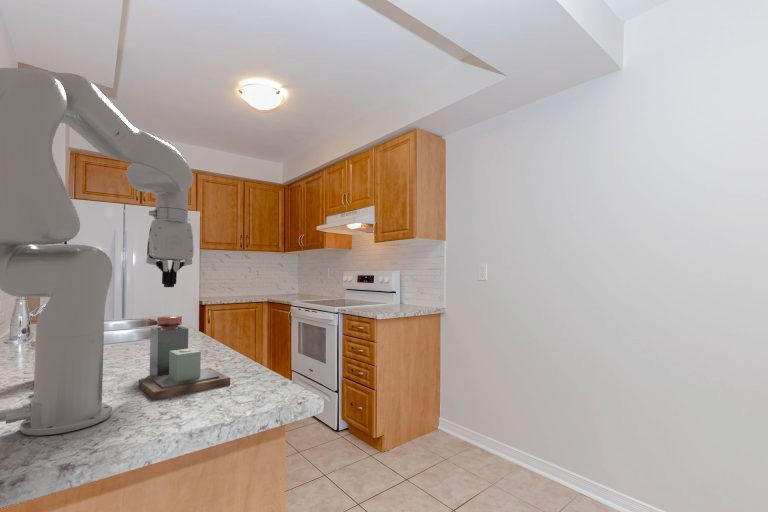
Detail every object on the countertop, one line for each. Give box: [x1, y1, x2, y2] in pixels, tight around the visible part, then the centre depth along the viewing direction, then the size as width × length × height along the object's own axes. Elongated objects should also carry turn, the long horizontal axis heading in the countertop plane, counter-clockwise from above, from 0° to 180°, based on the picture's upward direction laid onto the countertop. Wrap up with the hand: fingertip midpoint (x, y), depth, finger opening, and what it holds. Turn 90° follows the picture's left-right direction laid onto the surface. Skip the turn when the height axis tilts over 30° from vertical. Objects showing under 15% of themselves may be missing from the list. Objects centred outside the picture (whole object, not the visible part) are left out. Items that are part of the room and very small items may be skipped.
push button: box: [156, 315, 183, 331], centre depth 100 cm, size 6×6×9 cm
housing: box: [169, 347, 202, 382], centre depth 90 cm, size 5×6×6 cm
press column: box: [149, 325, 189, 377], centre depth 100 cm, size 7×7×12 cm
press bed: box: [138, 367, 231, 401], centre depth 90 cm, size 16×13×2 cm
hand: (169, 286), depth 100 cm, fingers closed
